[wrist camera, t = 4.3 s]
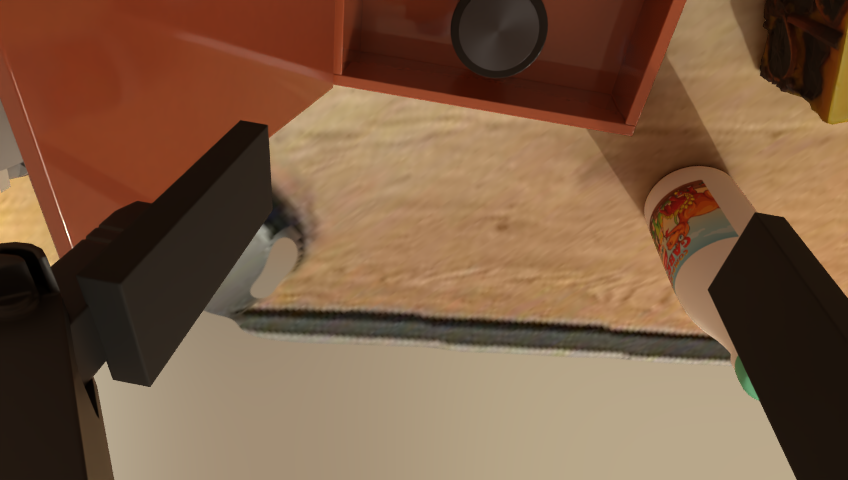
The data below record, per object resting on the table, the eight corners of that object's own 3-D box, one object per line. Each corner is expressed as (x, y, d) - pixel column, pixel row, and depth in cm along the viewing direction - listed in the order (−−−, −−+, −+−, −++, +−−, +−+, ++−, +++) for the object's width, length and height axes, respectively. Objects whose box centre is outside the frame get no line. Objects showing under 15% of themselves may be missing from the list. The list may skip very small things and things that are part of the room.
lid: (-67, -150, 11) (-97, -156, 11) (84, 284, 19) (65, 278, 19) (339, -131, 29) (326, -133, 29) (333, 87, 36) (323, 85, 37)
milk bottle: (729, 150, 43) (865, 320, 27) (742, 222, 47) (868, 410, 30) (633, 180, 46) (704, 351, 29) (652, 247, 49) (724, 431, 33)
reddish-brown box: (681, -81, 34) (715, -71, 29) (615, 101, 42) (632, 136, 36) (361, -133, 35) (334, -132, 29) (352, 56, 42) (330, 84, 37)
